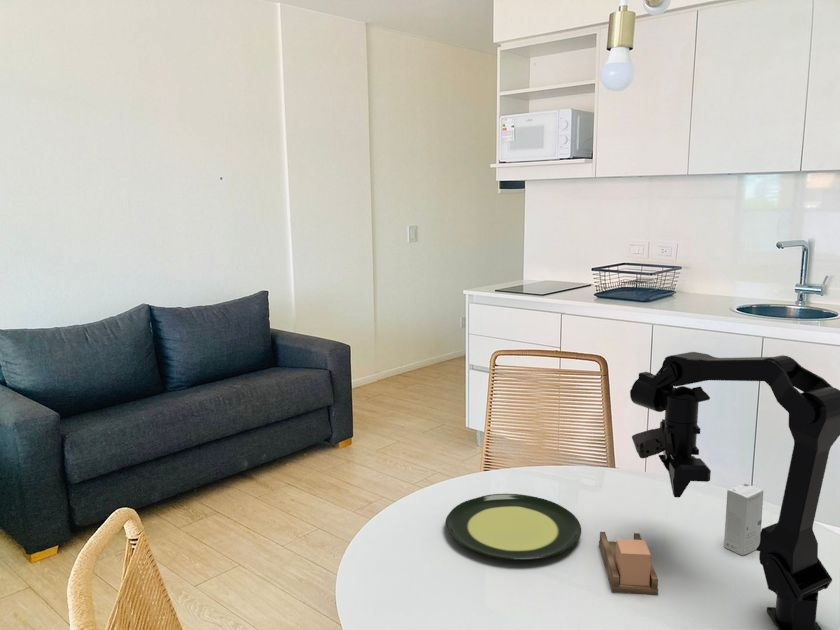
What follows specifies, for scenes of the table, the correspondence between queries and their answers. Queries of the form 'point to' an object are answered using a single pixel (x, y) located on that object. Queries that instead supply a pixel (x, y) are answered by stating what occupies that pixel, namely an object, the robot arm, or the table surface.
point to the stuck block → (633, 562)
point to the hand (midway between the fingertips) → (676, 496)
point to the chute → (609, 561)
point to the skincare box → (743, 519)
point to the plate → (513, 526)
